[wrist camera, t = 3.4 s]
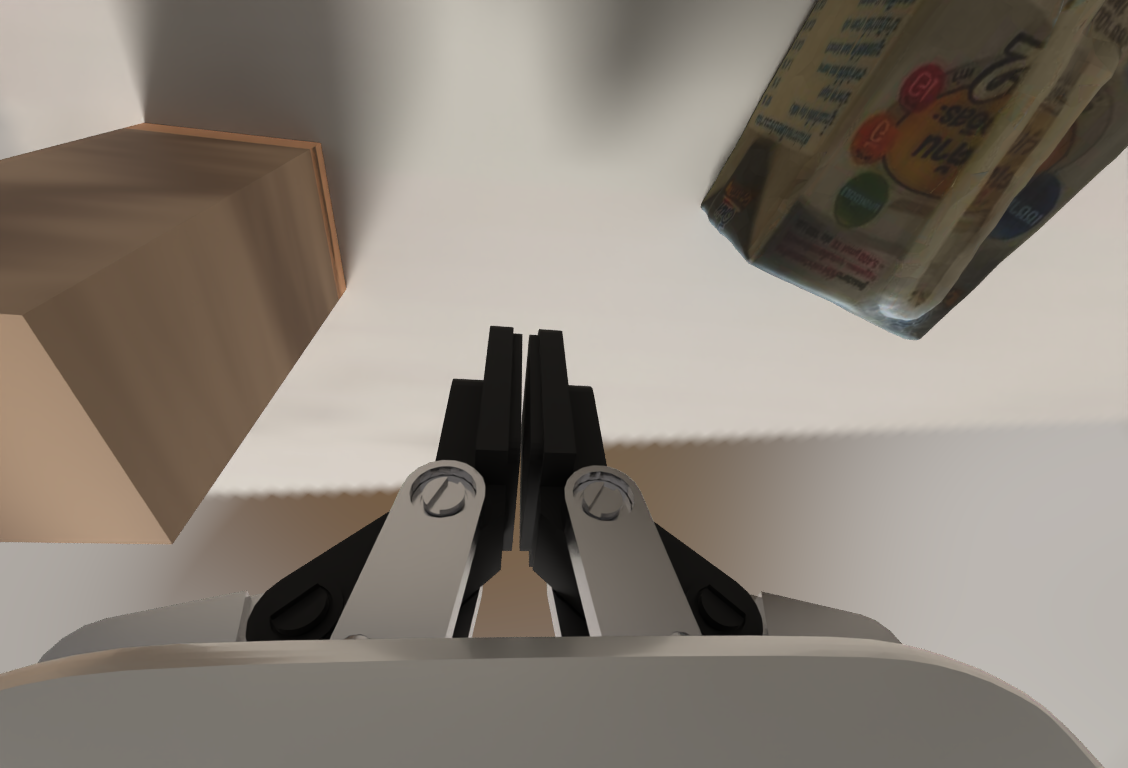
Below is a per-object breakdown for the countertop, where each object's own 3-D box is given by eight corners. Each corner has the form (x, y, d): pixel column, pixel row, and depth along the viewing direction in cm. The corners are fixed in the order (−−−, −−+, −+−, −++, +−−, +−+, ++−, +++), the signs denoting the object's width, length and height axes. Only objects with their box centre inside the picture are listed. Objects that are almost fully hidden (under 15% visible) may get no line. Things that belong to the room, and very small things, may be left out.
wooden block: (320, 143, 16) (21, 315, 7) (346, 289, 19) (172, 544, 10) (144, 122, 15) (-476, 282, 6) (202, 277, 19) (-135, 540, 9)
